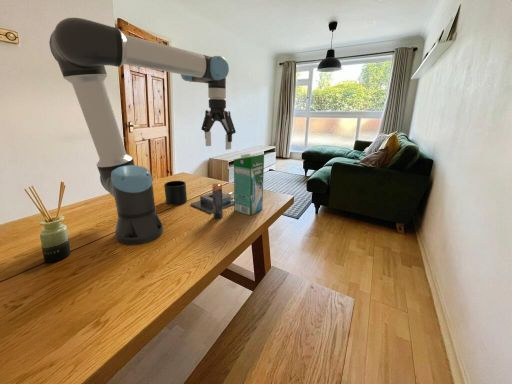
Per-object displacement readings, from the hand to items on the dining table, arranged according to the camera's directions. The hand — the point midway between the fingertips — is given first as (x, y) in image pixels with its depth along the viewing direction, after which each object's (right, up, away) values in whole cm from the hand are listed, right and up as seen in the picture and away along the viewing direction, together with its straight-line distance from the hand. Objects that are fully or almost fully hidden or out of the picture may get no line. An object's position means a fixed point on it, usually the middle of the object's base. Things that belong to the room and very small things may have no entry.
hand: (218, 147), depth 115 cm
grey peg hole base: (0, -26, +2) cm, 26 cm away
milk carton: (+14, -29, -6) cm, 33 cm away
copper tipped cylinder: (+2, -31, -14) cm, 34 cm away
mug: (-20, -25, +3) cm, 32 cm away
